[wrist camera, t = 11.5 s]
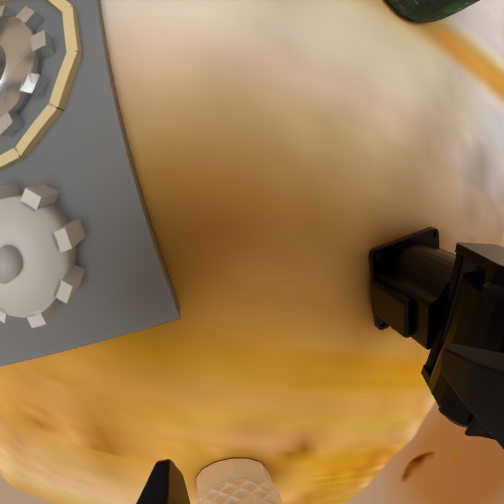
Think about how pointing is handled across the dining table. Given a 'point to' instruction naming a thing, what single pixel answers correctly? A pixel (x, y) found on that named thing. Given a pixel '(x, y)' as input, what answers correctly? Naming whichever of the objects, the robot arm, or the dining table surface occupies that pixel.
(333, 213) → the dining table surface
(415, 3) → the coffee jar
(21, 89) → the gear
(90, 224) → the carrier plate
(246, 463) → the white cup
